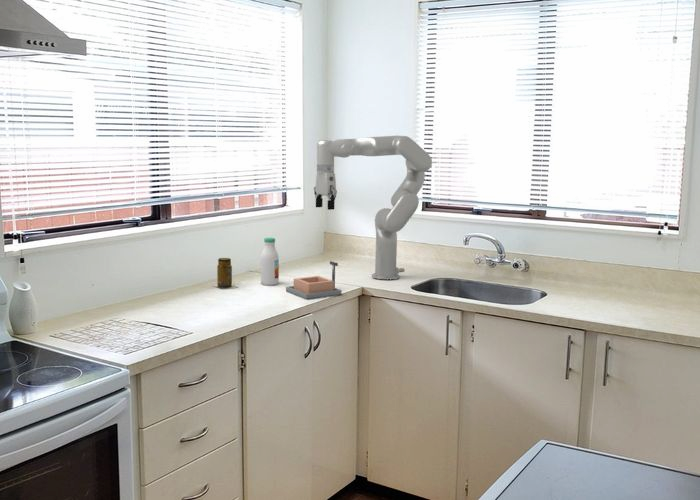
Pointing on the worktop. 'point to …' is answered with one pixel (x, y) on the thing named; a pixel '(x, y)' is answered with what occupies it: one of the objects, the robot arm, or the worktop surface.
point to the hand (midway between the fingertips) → (324, 208)
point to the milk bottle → (269, 263)
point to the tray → (313, 295)
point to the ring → (313, 284)
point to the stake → (333, 270)
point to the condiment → (224, 274)
